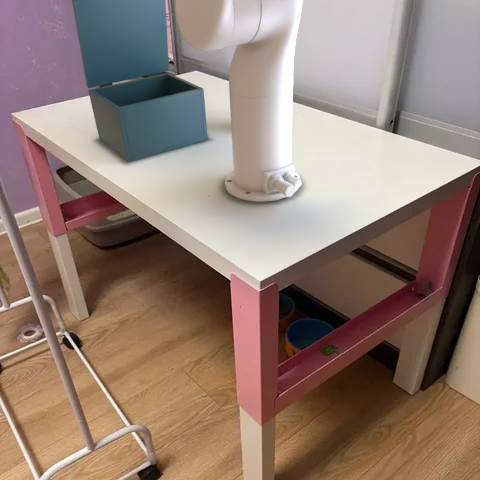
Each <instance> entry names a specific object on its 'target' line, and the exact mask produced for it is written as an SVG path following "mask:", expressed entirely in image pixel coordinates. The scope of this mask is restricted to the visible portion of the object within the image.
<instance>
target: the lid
mask: <svg viewBox="0 0 480 480" xmlns="http://www.w3.org/2000/svg"><path fill="white" fill-rule="evenodd" d="M71 3H72V9H73V15H74V19H75V20H74V21H75V26H76V27H75V28H76V32H77V38H78V44H79V49H80V56H81V61H82V66H83V72H84V73H83V74H84V78H85V79H84V80H85V85H86V88H87V89H93V88H97V87H102V86H107V85H111V84H116V83H121V82H125V81H130V80H135V79H139V78H144V77H149V76H153V75H158V74H163V73H165V72H166V73H167V72H169V71H170V63H169V46H168V43H169V42H168V23H167V5H166V4H167V3H166V0H71Z"/></svg>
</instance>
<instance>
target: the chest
mask: <svg viewBox="0 0 480 480" xmlns="http://www.w3.org/2000/svg"><path fill="white" fill-rule="evenodd" d="M88 95H89V100H90V105H91V109H92V113H93V118H94V123H95V125H96V127H95V128H96V131H97V135H98V140H99V141H100V142H101V143H102V144H104V145H105V146H107V147H108V148H109V149H110V150H112V151H113V152H114V153H115V154H117V155H118V156H119V157H120V158H122V159H123V160H125V161H126V162H127V163H131V162H134V161H138V160H142V159H145V158H148V157H152V156H155V155H159V154H162V153H167V152H169V151H174V150H177V149H179V148H184V147H186V146H190V145H194V144H197V143H202V142H205V141H208V140H209V135H208V125H207V113H206V102H205V89H204V88H203V87H201V86H199V85H196V84H194V83H192V82H190V81H188V80H185V79H183V78H182V77H179V76H177V75H174V74H172V73H170V72H166V73H165V72H164V73H159V74H154V75H150V76H145V77H141V78H136V79H131V80H127V81H122V82H117V83H113V84H108V85H104V86H99V87H94V88H90V89H88Z"/></svg>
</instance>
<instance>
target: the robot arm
mask: <svg viewBox="0 0 480 480" xmlns="http://www.w3.org/2000/svg"><path fill="white" fill-rule="evenodd" d="M303 2H304V0H175V4H174V5H175V17H176V23H177V27H178V30H179V32H180V34H181V36H182V38H183V39H184V41H185V42H186V44H188V46H190V47H192V48H193V49H195V50H198V51H203V52H211V51H212V52H213V51H218V50H222V49H227V48H233V47H235V49H234V52H233V55H232V58H231V61H230V66H229V72H228V88H229V90H228V91H229V109H230V127H231V128H230V129H231V145H232V164H233V170H232V171H230V172H229V173H228V174H227V175H226V177H225V179H224V186H225V190H226V191H227V192H228V193H229V194H230V195H231V196H233V197H235V198H237V199H239V200H242V201H243V200H244V201H248V202H255V203H256V202H260V203H263V202H273V201H278V200H282V199H285V198H291V197H292V196H294V195H295V193H296V192H297V191H298V190H299V188H301V186H302V185H303V181H302V180H301V177H300V175H299V173H298V172H297V171H295V164H294V163H292V148H293V147H292V146H293V144H292V143H293V106H294V105H293V103H294V101H293V100H294V99H293V98H294V97H293V96H294V71H295V70H294V68H295V53H296V44H297V38H298V31H299V27H300V21H301V17H302V11H303Z"/></svg>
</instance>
